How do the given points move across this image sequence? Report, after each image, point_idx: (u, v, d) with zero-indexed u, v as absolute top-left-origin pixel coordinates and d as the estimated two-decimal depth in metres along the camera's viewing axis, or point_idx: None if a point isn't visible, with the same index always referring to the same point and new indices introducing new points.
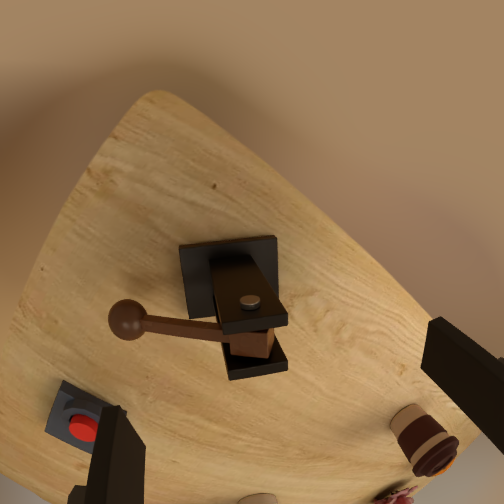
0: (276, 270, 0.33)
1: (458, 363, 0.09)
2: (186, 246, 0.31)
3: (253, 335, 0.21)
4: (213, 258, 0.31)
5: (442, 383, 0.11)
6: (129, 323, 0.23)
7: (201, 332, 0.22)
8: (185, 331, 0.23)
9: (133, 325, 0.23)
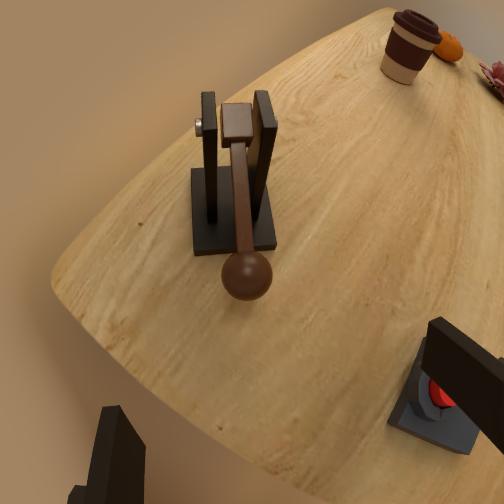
0: (223, 167, 0.33)
1: (458, 363, 0.09)
2: (193, 245, 0.29)
3: (225, 115, 0.20)
4: (206, 219, 0.30)
5: (442, 383, 0.11)
6: (239, 260, 0.21)
7: (237, 172, 0.21)
8: (240, 191, 0.21)
9: (243, 256, 0.21)
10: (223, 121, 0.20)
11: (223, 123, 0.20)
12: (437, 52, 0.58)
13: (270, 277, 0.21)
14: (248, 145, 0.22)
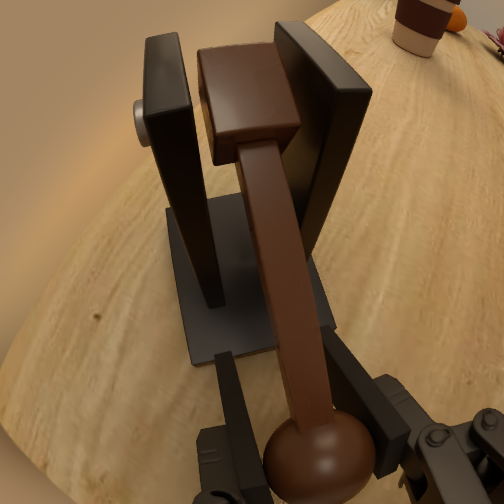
0: (219, 198, 0.20)
1: (334, 375, 0.11)
2: (189, 352, 0.16)
3: (211, 74, 0.07)
4: (204, 300, 0.17)
5: None
6: (309, 461, 0.07)
7: (271, 231, 0.07)
8: (287, 285, 0.07)
9: (316, 449, 0.07)
10: (209, 90, 0.07)
11: (209, 95, 0.07)
12: None
13: (374, 462, 0.07)
14: (280, 151, 0.09)
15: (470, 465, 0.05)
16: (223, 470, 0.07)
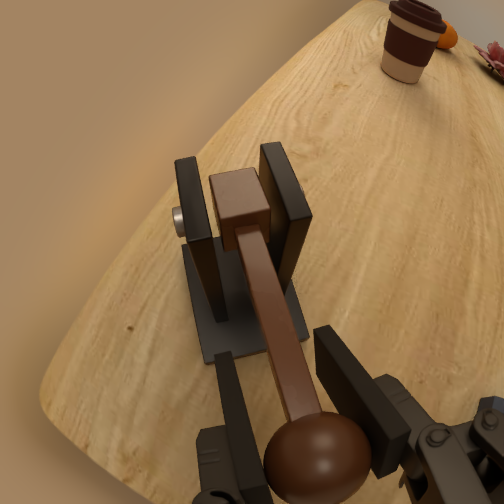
0: None
1: (335, 374, 0.11)
2: None
3: (217, 188, 0.13)
4: (213, 316, 0.23)
5: (329, 392, 0.12)
6: (298, 436, 0.08)
7: (257, 273, 0.12)
8: (269, 304, 0.11)
9: (303, 426, 0.08)
10: (215, 196, 0.13)
11: (216, 199, 0.13)
12: None
13: (369, 451, 0.07)
14: (266, 237, 0.14)
15: (470, 465, 0.05)
16: (223, 470, 0.07)
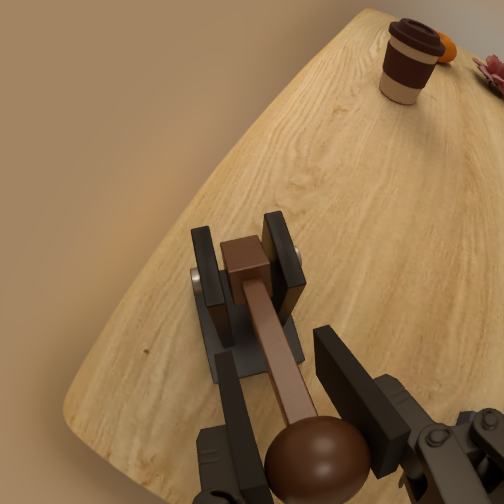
0: None
1: (334, 375, 0.11)
2: (212, 375, 0.25)
3: (226, 251, 0.17)
4: (221, 342, 0.26)
5: (329, 392, 0.12)
6: (293, 429, 0.08)
7: (259, 311, 0.14)
8: (269, 333, 0.13)
9: (298, 423, 0.09)
10: (225, 256, 0.16)
11: (225, 258, 0.16)
12: None
13: (366, 445, 0.08)
14: (269, 291, 0.17)
15: (470, 465, 0.05)
16: (223, 470, 0.07)
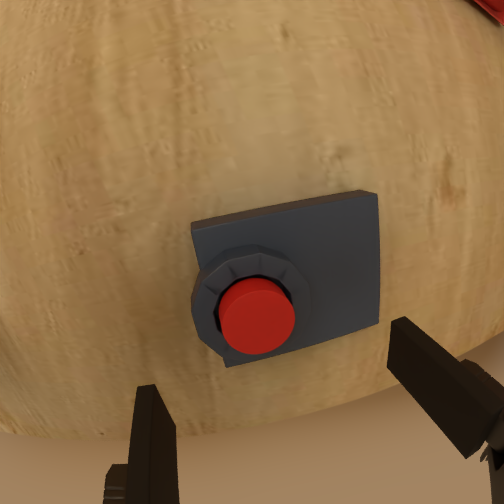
0: None
1: (419, 364, 0.10)
2: None
3: None
4: None
5: (406, 383, 0.11)
6: None
7: None
8: None
9: None
10: None
11: None
12: None
13: None
14: None
15: None
16: None
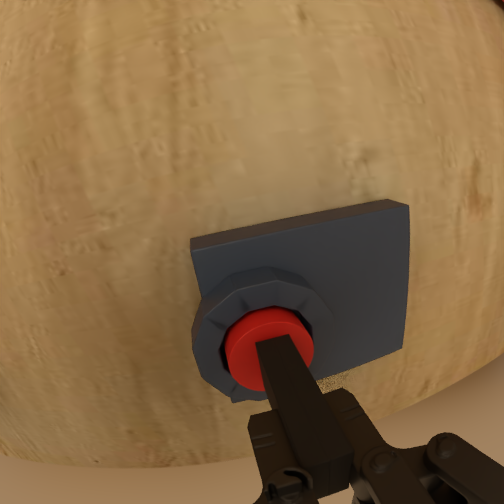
0: None
1: None
2: None
3: None
4: None
5: None
6: None
7: None
8: None
9: None
10: None
11: None
12: None
13: None
14: None
15: (423, 488, 0.05)
16: (280, 453, 0.08)
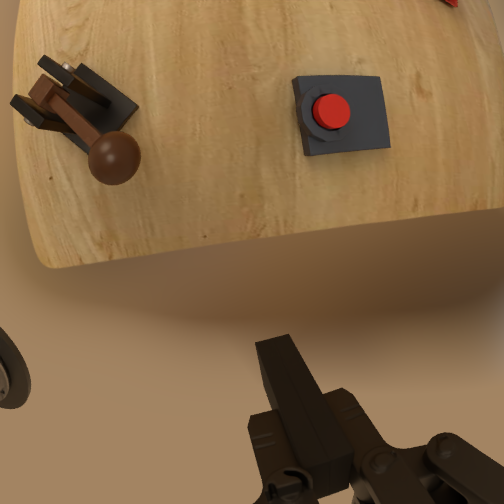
0: None
1: None
2: None
3: (32, 95, 0.18)
4: None
5: None
6: None
7: (61, 110, 0.18)
8: (69, 117, 0.18)
9: (91, 146, 0.17)
10: (33, 99, 0.18)
11: (34, 100, 0.18)
12: None
13: (122, 137, 0.17)
14: (66, 93, 0.20)
15: (423, 488, 0.05)
16: (280, 453, 0.08)
